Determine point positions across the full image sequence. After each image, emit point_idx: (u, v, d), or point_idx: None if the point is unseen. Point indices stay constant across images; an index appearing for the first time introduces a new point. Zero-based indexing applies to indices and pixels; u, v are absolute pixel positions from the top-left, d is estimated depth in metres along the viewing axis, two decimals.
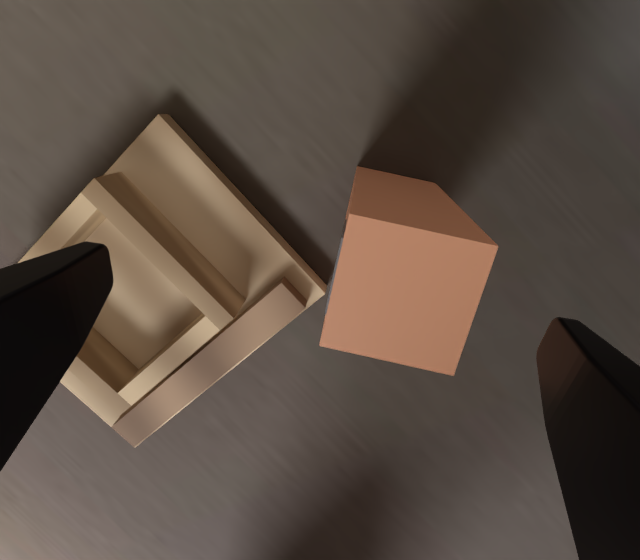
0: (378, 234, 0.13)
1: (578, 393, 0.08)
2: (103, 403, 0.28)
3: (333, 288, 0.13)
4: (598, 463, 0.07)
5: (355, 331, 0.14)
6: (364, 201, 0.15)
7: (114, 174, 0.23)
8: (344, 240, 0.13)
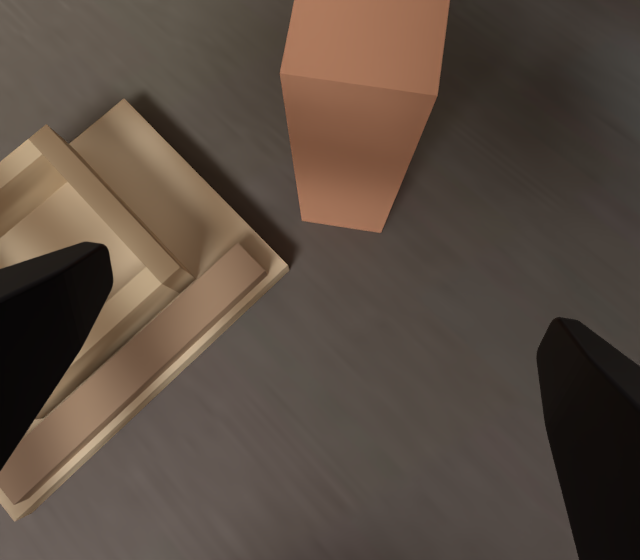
0: None
1: (578, 393, 0.08)
2: None
3: (293, 10, 0.12)
4: (598, 463, 0.07)
5: (320, 53, 0.12)
6: None
7: None
8: None
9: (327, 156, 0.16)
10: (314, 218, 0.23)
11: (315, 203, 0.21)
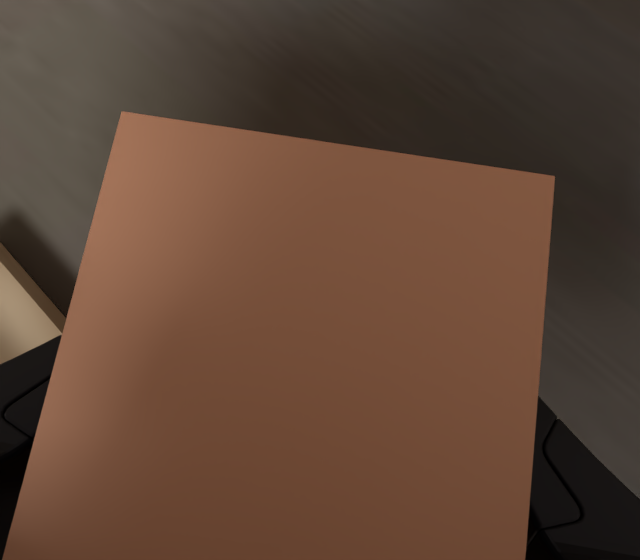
0: (205, 163, 0.04)
1: None
2: None
3: (63, 342, 0.04)
4: None
5: (134, 504, 0.04)
6: None
7: None
8: (106, 187, 0.04)
9: None
10: None
11: None
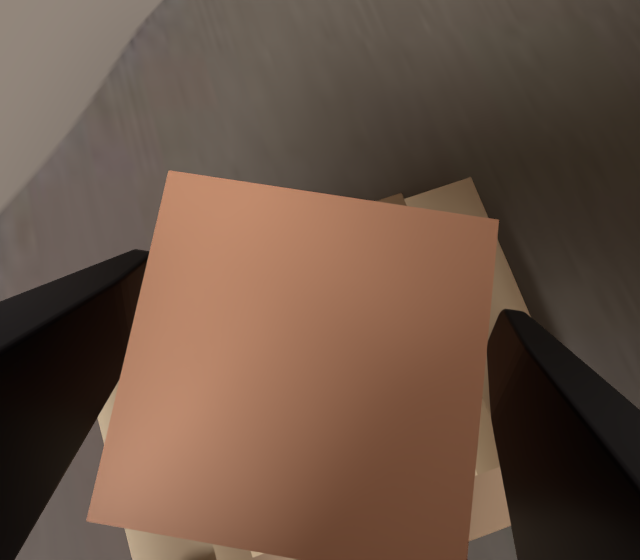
0: (233, 210, 0.06)
1: (517, 383, 0.08)
2: (156, 539, 0.16)
3: (129, 347, 0.05)
4: (532, 451, 0.07)
5: (185, 466, 0.05)
6: None
7: None
8: (158, 229, 0.06)
9: None
10: None
11: None
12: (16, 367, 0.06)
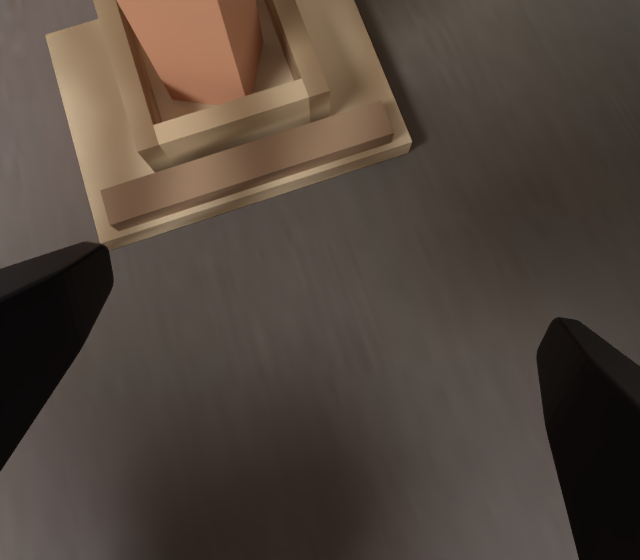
0: None
1: (578, 393, 0.08)
2: (102, 175, 0.23)
3: None
4: (598, 463, 0.07)
5: None
6: None
7: None
8: None
9: None
10: (181, 93, 0.23)
11: (167, 66, 0.21)
12: None
